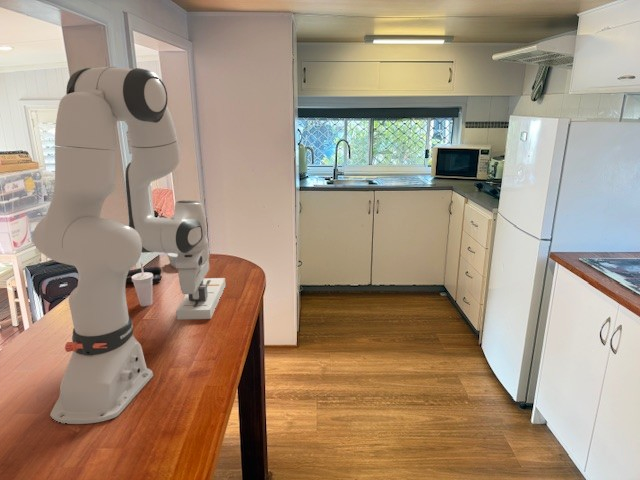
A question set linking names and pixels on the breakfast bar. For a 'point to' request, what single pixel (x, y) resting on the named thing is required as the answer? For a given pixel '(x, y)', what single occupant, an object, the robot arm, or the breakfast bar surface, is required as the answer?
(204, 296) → the fader knob
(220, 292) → the fader console
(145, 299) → the smoothie
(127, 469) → the breakfast bar surface
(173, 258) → the ramekin
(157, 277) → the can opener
